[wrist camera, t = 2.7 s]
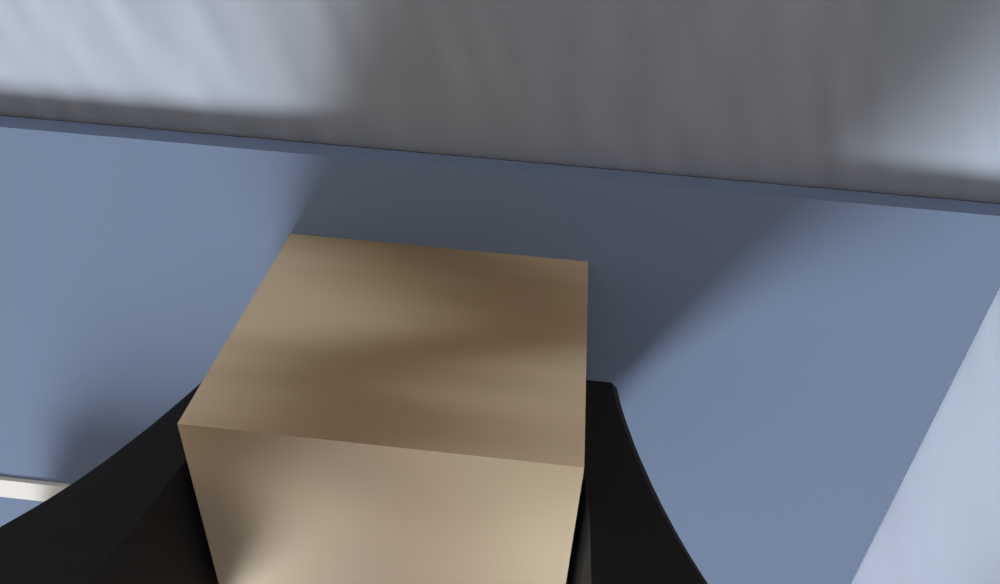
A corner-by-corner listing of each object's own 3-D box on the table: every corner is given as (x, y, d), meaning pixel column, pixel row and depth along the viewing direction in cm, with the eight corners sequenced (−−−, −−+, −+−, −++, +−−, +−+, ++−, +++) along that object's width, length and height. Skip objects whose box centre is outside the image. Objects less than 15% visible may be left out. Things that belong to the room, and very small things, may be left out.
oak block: (588, 261, 13) (584, 467, 10) (560, 468, 16) (549, 687, 13) (290, 233, 14) (177, 423, 10) (316, 442, 16) (235, 648, 13)
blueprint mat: (1022, 206, 12) (1036, 222, 12) (737, 791, 24) (739, 809, 24) (-437, 76, 14) (-468, 88, 13) (-35, 692, 25) (-46, 708, 25)
